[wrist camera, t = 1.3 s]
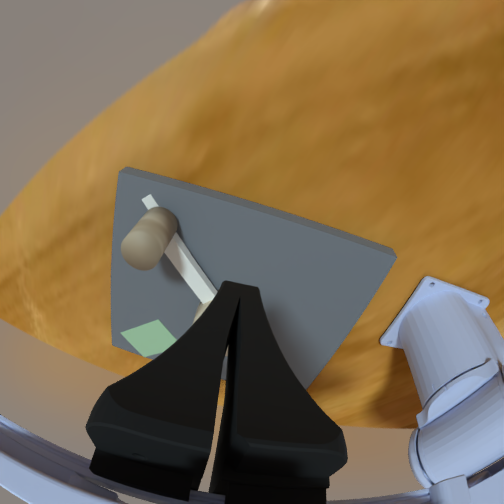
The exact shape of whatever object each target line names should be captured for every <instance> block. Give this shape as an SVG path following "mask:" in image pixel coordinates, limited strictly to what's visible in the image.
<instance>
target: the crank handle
mask: <svg viewBox="0 0 504 504" xmlns="http://www.w3.org/2000/svg"><path fill="white" fill-rule="evenodd" d="M176 231H177V220H176V217H175V216H174V214H173V213H172V212H171V211H170V210H168V209H166V208H164V207H153V208H151V209H149V210H148V211H147V212H146V213H145V214H144V216H143V217H142V218H141V219H140V220H139V221H138V223H137V224H136V225H135V226H134V227H133V229H132V230H131V231H130V232H129V233H128V235H127V236H126V237H125V238H124V240H123V241H122V243H121V253H122V256H123V258H124V259H125V261H126V262H127V263H128V264H129V265H130V266H132V267H133V268H135V269H138V270H142V271H147V270H151V269H153V268H154V267H155V266H156V265H157V264H158V262H159V260H160V258H161V257H162V255H163V253H165V254H166V255H167V257H168V258H169V259H170V261H171V262H172V264H173V265H174V266H175V268H176V269H177V270H178V272H179V273H180V274H181V276H182V277H183V278H184V280H185V281H186V282H187V284H188V285H189V286H190V288H191V289H192V290H193V291H194V293H195V294H196V295H197V297H198V298H199V299H200V301H201V302H200V303H199V305H198V308H197V311H196V314H195V318H194V321H193V324H194V322H195V321H196V320H197V319H198V318H199V317H200V316H201V314H202V313H203V312H204V311H205V309H206V308H207V307H208V305H209V304H210V303H211V301H212V300H213V298H214V297H215V295H216V294H217V290H216V289H215V287H214V286H213V285H212V283H211V282H210V280H209V279H208V278H207V276H206V275H205V274H204V272H203V271H202V269H201V268H200V267H199V265H198V264H197V262H196V261H195V259H194V258H193V257H192V255H191V254H190V252H189V251H188V249H187V248H186V247H185V245H184V244H183V242H182V241H181V239H180V238H179V236H178V235H177V234H176ZM193 324H192V325H193ZM225 356H228V347H227V351H226V354H225Z"/></svg>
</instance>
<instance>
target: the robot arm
mask: <svg viewBox="0 0 504 504" xmlns="http://www.w3.org/2000/svg"><path fill="white" fill-rule="evenodd" d="M432 282H433V283H432ZM430 283H432V284H430ZM488 304H489V299H488V298H487V297H484V296H482V295H479V294H476V293H474V292H471V291H468V290H466V289H463V288H460V287H458V286H455V285H452V284H449V283H447V282H444V281H441V280H438V279H436V278H433V277H430V276H426V277H424V278H423V279H422V281H421V282H420V284H419V285H418V287H417V288H416V290H415V291H414V293H413V294H412V296H411V297H410V298H409V300H408V301H407V303H406V304H405V306H404V307H403V309H402V310H401V311H400V313H399V314H398V316H397V317H396V318H395V320H394V321H393V322H392V324H391V325H390V326H389V328H388V329H387V330H386V332H385V333H384V334H383V336H382V337H381V338H380V343H381V344H382V345H385V346H390V347H396V348H401V349H404V352H405V355H406V358H407V361H408V364H409V367H410V370H411V373H412V376H413V379H414V382H415V385H416V389H417V392H418V395H419V399H420V402H421V405H422V409H423V410H422V411H421V412H420V413H419V414H417V415H416V418H417V422H418V426H419V427H417V428H416V429H415V430H414V431H413V432H412V434H411V437H410V441H409V448H408V455H409V463H410V466H411V469H412V472H413V474H414V476H415V478H416V479H417V481H418V482H419V483H420V484H421V485H422V486H423V487H424V488H425V489H422V490H417V491H412V492H407V493H401V494H394V495H388V496H380V497H372V498H363V499H351V500H336V501H335V500H334V501H326V489H327V488H329V486H330V484H329V476H331V475H332V474H334V473H335V472H337V471H338V470H339V469H340V468H342V467H343V466H344V465H345V464H346V463H347V459H348V457H347V448H346V443H345V439H344V435H343V431H342V429H341V428H340V427H339V426H338V425H337V424H336V423H335V422H334V421H333V420H331V419H330V418H329V417H328V416H327V415H326V414H325V413H324V412H323V411H322V409H321V408H320V407H319V406H318V405H317V404H316V402H315V401H314V400H313V399H312V398H311V396H310V395H309V394H308V392H307V391H306V390H305V388H304V387H303V386H302V384H301V383H300V382H299V380H298V379H297V377H296V376H295V374H294V372H293V371H292V369H291V368H290V366H289V364H288V363H287V361H286V359H285V357H284V355H283V353H282V351H281V350H280V348H279V345H278V343H277V341H276V339H275V337H274V334H273V332H272V329H271V327H270V324H269V321H268V319H267V316H266V313H265V310H264V306H263V303H262V299H261V294H260V290H259V288H258V287H255V286H251V285H246V284H241V283H236V282H232V281H227V280H225V281H223V282H222V284H221V286H220V288H219V290H218V292H217V294H216V295H215V297H214V298H213V300H212V301H211V303H210V304H209V305H208V307H207V308H206V309H205V311H204V312H203V313H202V314H201V316H200V317H199V318H198V319H197V320H196V321H195V322H194V324H193V325H192V326H191V327H190V328H189V329H188V330H187V331H186V332H185V333H184V334H183V335H182V336H181V337H180V338H179V339H178V340H177V341H176V342H175V343H173V344H172V345H171V346H170V347H169V348H168V349H166V350H165V351H164V352H163V353H161V354H160V355H159V356H158V357H156V358H155V359H153V360H152V361H151V362H149V363H148V364H146V365H145V366H143V367H142V368H140V369H139V370H137V371H135V372H134V373H132V374H130V375H129V376H127V377H125V378H123V379H121V380H119V381H117V382H116V383H114V384H112V385H110V386H108V387H107V388H106V389H105V391H104V392H103V393H102V394H101V396H100V397H99V399H98V400H97V402H96V404H95V405H94V407H93V410H92V411H91V414H90V416H89V419H88V422H87V424H86V430H87V433H88V435H89V437H90V438H91V440H92V442H93V443H94V445H95V447H96V449H95V452H94V455H93V458H92V460H89V459H87V458H85V457H82V456H80V455H77V454H75V453H73V452H70V451H68V450H66V449H64V448H62V447H59V446H57V445H55V444H53V443H51V442H49V441H47V440H45V439H43V438H41V437H39V436H37V435H35V434H33V433H31V432H29V431H28V430H26V429H24V428H22V427H21V426H19V425H17V424H15V423H14V422H12V421H10V420H9V419H7V418H5V417H4V416H2V415H1V414H0V486H2V487H3V488H5V489H7V490H8V491H10V492H11V493H13V494H14V495H16V496H17V497H19V498H20V499H22V500H24V501H25V502H27V503H29V504H127V503H125V502H123V501H121V500H120V499H119V498H118V495H117V494H116V493H115V492H112V491H109V490H108V489H111V490H114V491H117V492H119V493H122V494H126V495H129V496H132V497H136V498H139V499H142V500H146V501H149V502H153V503H157V504H504V458H502V457H504V339H503V338H502V336H501V334H500V333H499V331H498V329H497V328H496V326H495V324H494V323H493V321H492V320H491V318H490V316H489V315H488V313H487V312H486V310H485V308H486V307H487V306H488ZM388 341H389V342H388ZM227 347H228V356H227V371H226V388H225V399H224V407H223V413H222V419H221V425H220V431H219V436H218V442H217V448H216V454H215V460H214V465H213V471H212V476H211V482H210V487H209V493H207V492H202V491H198V488H199V485H200V482H201V479H202V477H203V474H204V470H205V468H206V465H207V461H208V459H209V455H210V452H211V446H212V440H213V434H214V426H215V418H216V410H217V402H218V395H219V388H220V381H221V374H222V367H223V361H224V358H225V354H226V351H227ZM501 458H502V459H501ZM499 459H501V460H499ZM497 460H499V461H498V462H496V461H497ZM494 462H496V463H494ZM493 463H494V464H493ZM491 464H493V465H491ZM489 465H491V466H489ZM488 466H489V467H488ZM486 467H488V468H486ZM484 468H486V469H484ZM482 469H484V470H482ZM481 470H482V471H481ZM479 471H481V472H479ZM477 472H479V473H477ZM475 473H477V474H475ZM473 474H474V475H473ZM99 485H100V486H99ZM101 486H102V487H101ZM103 487H105V488H103ZM106 488H108V489H106Z"/></svg>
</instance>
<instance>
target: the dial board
mask: <svg viewBox="0 0 504 504" xmlns="http://www.w3.org/2000/svg"><path fill="white" fill-rule="evenodd" d="M153 207H164V208H166V209H168V210H170V211H171V212H172V213H173V214H174V216H175V217H176V220H177V231H176V234H177V235H178V236H179V238H180V239H181V241H182V242H183V244H184V245H185V247H186V248H187V249H188V251H189V252H190V254H191V255H192V257H193V258H194V259H195V261H196V262H197V264H198V265H199V267H200V268H201V269H202V271H203V272H204V274H205V275H206V276H207V278H208V279H209V280H210V282H211V283H212V285H213V286H214V287H215V289H216V290H217V292H218V290H219V288H220V286H221V284H222V282H223V281H225V280H227V281H232V282H236V283H241V284H246V285H251V286H255V287H258V288H259V290H260V294H261V299H262V303H263V306H264V310H265V313H266V316H267V319H268V321H269V324H270V327H271V329H272V332H273V334H274V337H275V339H276V341H277V343H278V345H279V348H280V350H281V351H282V353H283V355H284V357H285V359H286V361H287V363H288V364H289V366H290V368H291V369H292V371H293V372H294V374H295V376H296V377H297V379H298V380H299V382H300V383H301V384H302V386H303V387H304V388H305V390H306V389H307V388H308V387H309V386H310V384H311V383H312V382H313V381H314V379H315V378H316V377H317V375H318V374H319V373H320V372H321V370H322V369H323V368H324V366H325V365H326V364H327V362H328V361H329V360H330V358H331V357H332V356H333V354H334V353H335V352H336V350H337V349H338V348H339V346H340V345H341V343H342V342H343V341H344V339H345V338H346V336H347V335H348V334H349V332H350V331H351V329H352V328H353V326H354V325H355V323H356V322H357V320H358V319H359V318H360V316H361V315H362V313H363V312H364V310H365V309H366V307H367V305H368V304H369V302H370V301H371V299H372V298H373V296H374V295H375V293H376V292H377V290H378V288H379V287H380V285H381V284H382V282H383V280H384V279H385V277H386V275H387V274H388V272H389V270H390V269H391V267H392V265H393V264H394V262H395V260H396V259H397V256H396V254H395V253H394V251H393V249H391V248H389V247H386V246H383V245H381V244H378V243H375V242H372V241H369V240H367V239H364V238H361V237H358V236H355V235H352V234H350V233H347V232H344V231H341V230H338V229H335V228H332V227H329V226H326V225H323V224H320V223H317V222H314V221H311V220H308V219H305V218H302V217H299V216H296V215H293V214H290V213H287V212H284V211H280V210H277V209H274V208H271V207H268V206H264V205H261V204H258V203H255V202H252V201H248V200H245V199H242V198H238V197H235V196H232V195H228V194H225V193H221V192H218V191H215V190H211V189H208V188H204V187H201V186H197V185H194V184H190V183H186V182H183V181H179V180H176V179H172V178H168V177H165V176H161V175H157V174H153V173H149V172H146V171H142V170H138V169H134V168H130V167H125V168H124V169H122V170H121V171H119V175H118V184H117V192H116V202H115V213H114V226H113V241H112V263H111V329H112V345H113V346H116V347H118V348H121V349H124V350H127V351H129V352H132V353H135V354H138V355H141V356H143V357H147V358H150V359H155V358H156V357H158V356H159V355H160V354H161V353H163V352H164V351H165V350H166V349H168V348H169V347H170V346H171V345H172V344H173V343H175V342H176V341H177V340H178V339H179V338H180V337H181V336H182V335H183V334H184V333H185V332H186V331H187V330H188V329H189V328H190V327H191V326H192V324H193V321H194V318H195V314H196V311H197V308H198V305H199V303H200V302H201V301H200V299H199V298H198V297H197V295H196V294H195V293H194V291H193V290H192V289H191V288H190V286H189V285H188V284H187V282H186V281H185V280H184V278H183V277H182V276H181V274H180V273H179V272H178V270H177V269H176V268H175V266H174V265H173V264H172V262H171V261H170V259H169V258H168V257H167V255H166V254H165V253H163V255H162V257H161V258H160V260H159V262H158V264H157V265H156V266H155V267H154V268H153V269H151V270H147V271H142V270H138V269H135V268H133V267H132V266H130V265H129V264H128V263H127V262H126V261H125V259H124V258H123V256H122V253H121V243H122V241H123V240H124V238H125V237H126V236H127V235H128V233H129V232H130V231H131V230H132V229H133V227H134V226H135V225H136V224H137V223H138V221H139V220H140V219H141V218H142V217H143V216H144V214H145V213H146V212H147V211H148V210H149V209H151V208H153ZM226 371H227V356H225V358H224V361H223V367H222V374H221V379H223V380H226Z"/></svg>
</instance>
